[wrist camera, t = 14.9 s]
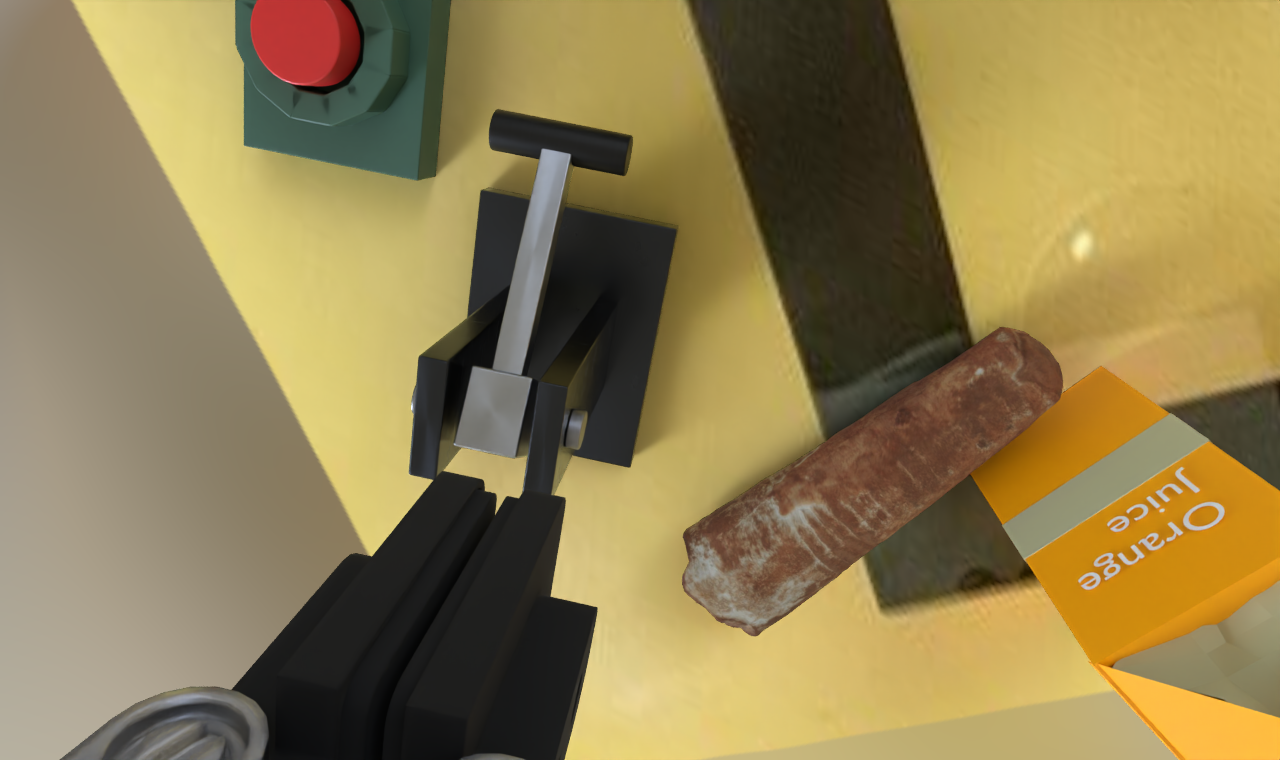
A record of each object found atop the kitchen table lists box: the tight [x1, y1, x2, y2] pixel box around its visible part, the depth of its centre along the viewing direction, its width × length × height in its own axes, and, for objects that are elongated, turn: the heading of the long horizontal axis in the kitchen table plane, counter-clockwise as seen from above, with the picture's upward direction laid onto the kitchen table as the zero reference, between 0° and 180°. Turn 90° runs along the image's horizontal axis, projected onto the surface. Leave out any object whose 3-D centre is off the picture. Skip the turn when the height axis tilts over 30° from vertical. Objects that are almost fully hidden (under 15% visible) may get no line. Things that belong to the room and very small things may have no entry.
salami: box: [682, 327, 1063, 636], centre depth 36 cm, size 6×19×6 cm, turn 130°
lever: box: [454, 109, 633, 458], centre depth 28 cm, size 12×5×2 cm, turn 170°
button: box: [251, 0, 360, 86], centre depth 30 cm, size 4×4×2 cm
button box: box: [235, 0, 451, 180], centre depth 33 cm, size 10×8×4 cm
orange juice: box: [970, 366, 1280, 760], centre depth 28 cm, size 8×9×20 cm
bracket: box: [409, 188, 679, 495], centre depth 32 cm, size 12×9×13 cm
